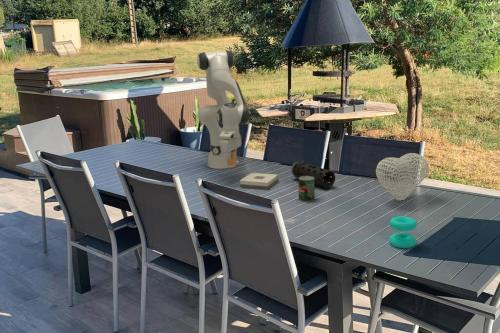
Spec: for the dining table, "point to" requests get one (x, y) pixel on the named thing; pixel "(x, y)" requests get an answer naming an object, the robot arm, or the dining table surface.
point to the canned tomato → (306, 188)
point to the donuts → (403, 238)
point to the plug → (232, 159)
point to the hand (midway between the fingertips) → (231, 157)
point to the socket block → (259, 181)
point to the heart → (379, 174)
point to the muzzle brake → (314, 174)
